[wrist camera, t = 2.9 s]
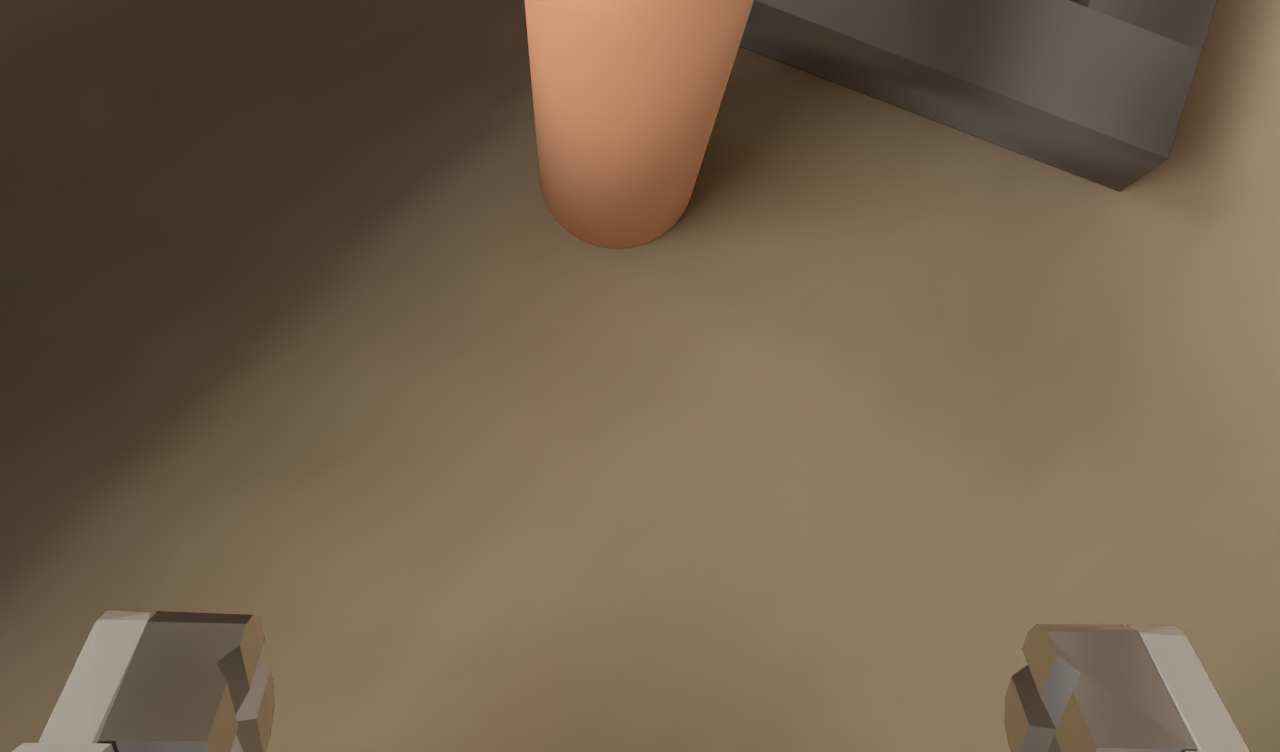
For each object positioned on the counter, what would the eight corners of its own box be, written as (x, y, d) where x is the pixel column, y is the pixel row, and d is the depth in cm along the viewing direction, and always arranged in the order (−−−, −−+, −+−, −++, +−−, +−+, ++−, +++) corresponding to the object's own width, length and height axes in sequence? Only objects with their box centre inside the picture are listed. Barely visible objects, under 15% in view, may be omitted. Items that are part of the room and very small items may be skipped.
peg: (515, 215, 29) (478, -22, 18) (572, 77, 30) (573, -238, 18) (661, 271, 29) (722, 72, 18) (716, 132, 30) (809, -148, 18)
